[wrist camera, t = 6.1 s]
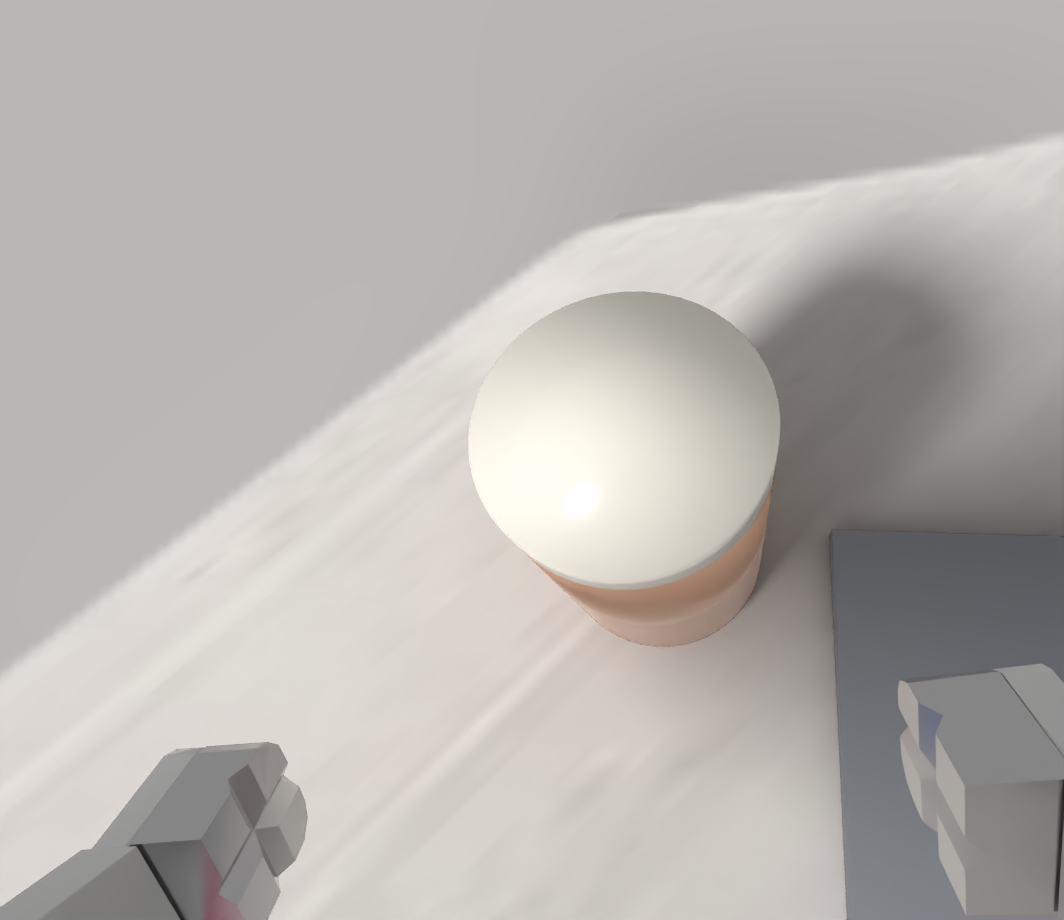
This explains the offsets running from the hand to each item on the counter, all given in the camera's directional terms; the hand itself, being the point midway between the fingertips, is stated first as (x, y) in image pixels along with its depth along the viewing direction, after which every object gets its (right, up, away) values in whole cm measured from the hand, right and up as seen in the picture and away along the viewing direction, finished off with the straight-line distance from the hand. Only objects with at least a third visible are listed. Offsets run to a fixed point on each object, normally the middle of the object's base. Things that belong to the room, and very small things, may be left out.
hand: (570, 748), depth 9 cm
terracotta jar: (+3, +1, +11) cm, 11 cm away
